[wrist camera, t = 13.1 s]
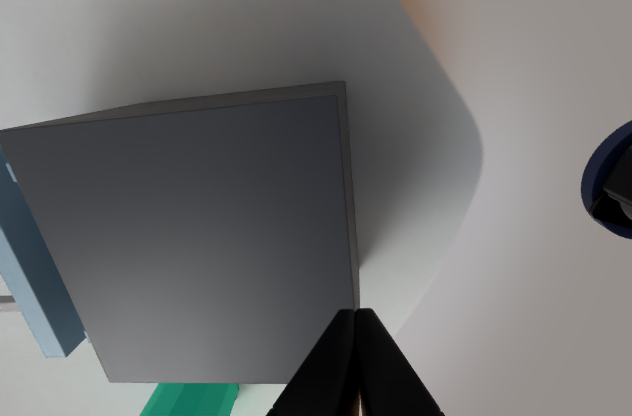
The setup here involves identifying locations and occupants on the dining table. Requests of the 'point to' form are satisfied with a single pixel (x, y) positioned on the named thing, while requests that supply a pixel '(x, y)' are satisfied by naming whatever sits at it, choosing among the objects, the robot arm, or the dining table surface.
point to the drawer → (33, 274)
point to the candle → (191, 399)
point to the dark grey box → (199, 229)
